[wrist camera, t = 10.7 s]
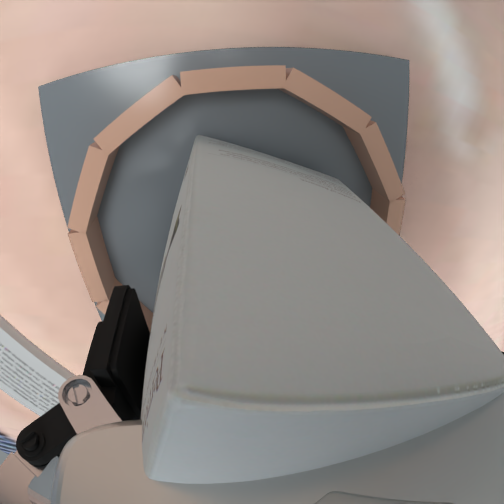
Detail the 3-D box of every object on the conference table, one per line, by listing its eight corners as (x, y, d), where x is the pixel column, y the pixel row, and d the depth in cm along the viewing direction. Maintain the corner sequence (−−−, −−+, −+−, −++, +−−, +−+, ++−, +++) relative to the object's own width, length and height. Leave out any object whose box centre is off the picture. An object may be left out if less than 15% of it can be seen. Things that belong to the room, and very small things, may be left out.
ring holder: (399, 60, 14) (431, 61, 11) (367, 322, 24) (382, 349, 21) (46, 85, 12) (18, 89, 10) (123, 352, 22) (117, 383, 19)
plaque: (174, 441, 28) (118, 457, 30) (174, 429, 30) (118, 447, 32) (-80, 240, 13) (-95, 298, 15) (-70, 231, 15) (-87, 289, 17)
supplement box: (194, 129, 13) (161, 387, 2) (341, 177, 15) (530, 376, 5) (157, 267, 16) (131, 522, 6) (285, 294, 19) (358, 509, 8)
